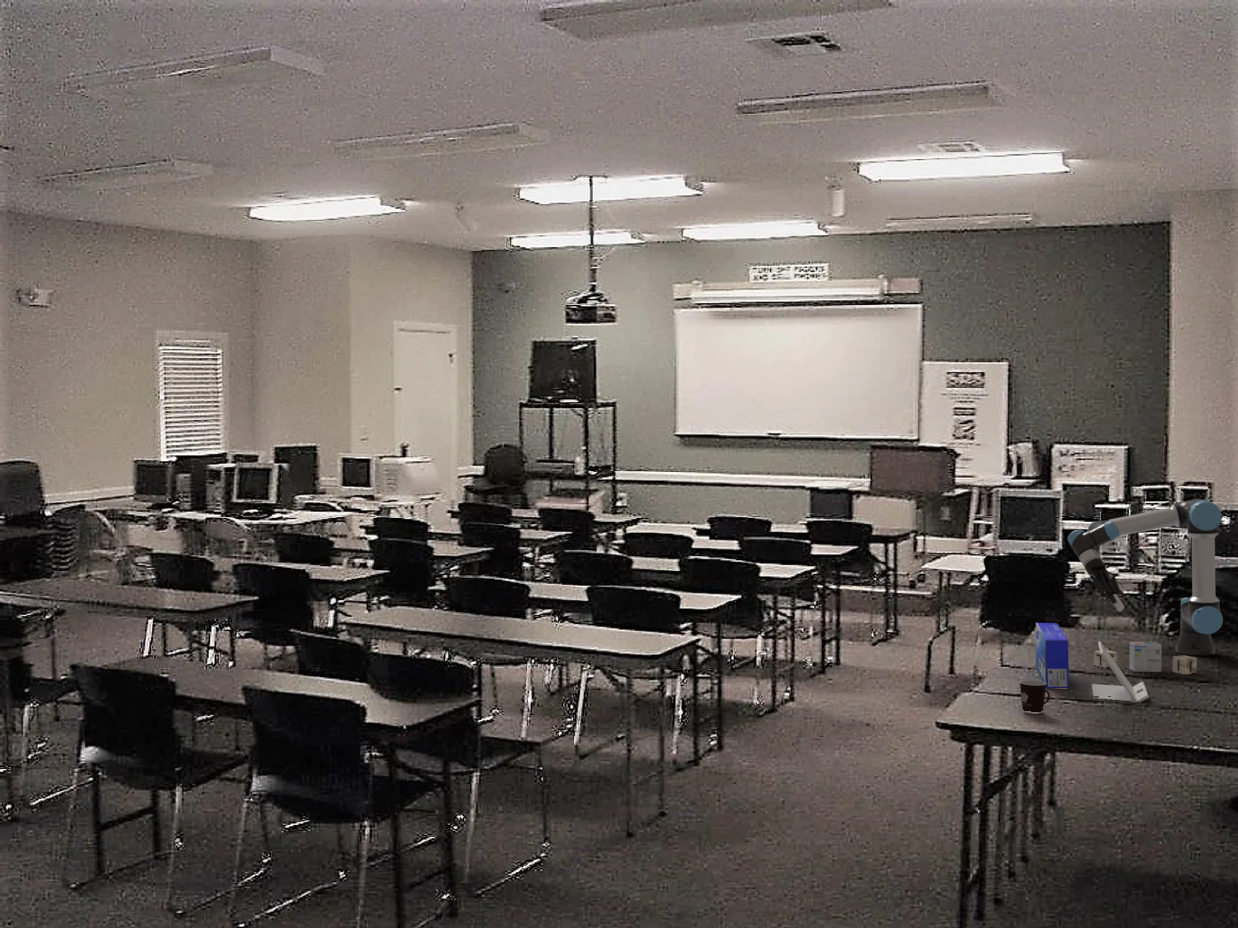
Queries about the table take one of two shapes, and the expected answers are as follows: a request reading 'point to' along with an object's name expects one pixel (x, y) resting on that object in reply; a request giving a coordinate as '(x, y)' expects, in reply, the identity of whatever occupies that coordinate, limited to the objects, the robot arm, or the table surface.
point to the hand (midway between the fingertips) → (1121, 609)
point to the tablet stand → (1119, 692)
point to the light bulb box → (1145, 656)
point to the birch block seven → (1100, 660)
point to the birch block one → (1184, 664)
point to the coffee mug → (1033, 695)
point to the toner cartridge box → (1052, 655)
